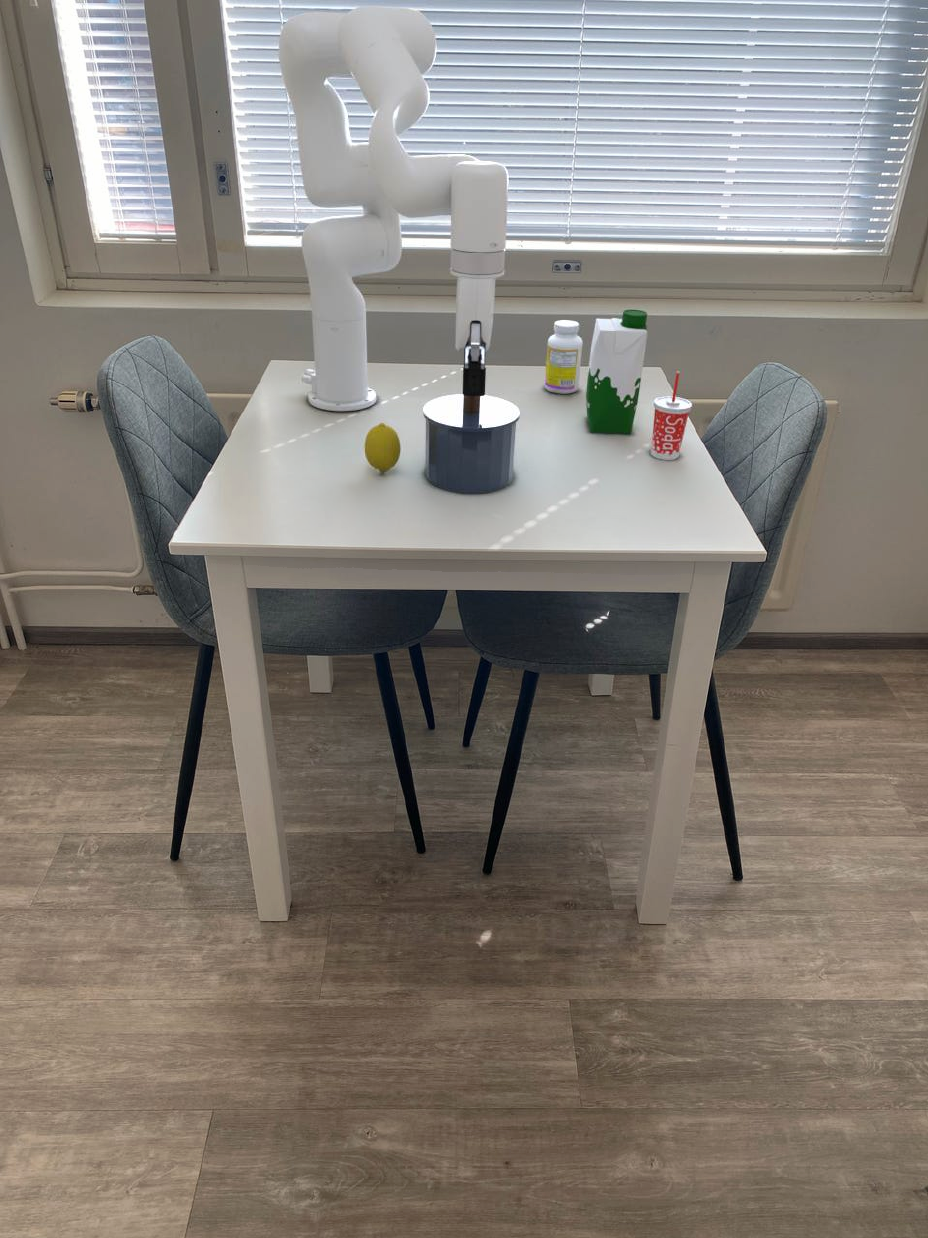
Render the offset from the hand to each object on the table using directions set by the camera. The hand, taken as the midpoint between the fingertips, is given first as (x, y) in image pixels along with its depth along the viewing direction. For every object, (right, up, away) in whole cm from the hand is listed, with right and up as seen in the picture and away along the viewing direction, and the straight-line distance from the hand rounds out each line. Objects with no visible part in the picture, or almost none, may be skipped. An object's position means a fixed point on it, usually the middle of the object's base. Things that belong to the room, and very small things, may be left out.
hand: (473, 384), depth 132 cm
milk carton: (+24, 0, +28) cm, 37 cm away
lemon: (-14, -12, +8) cm, 20 cm away
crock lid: (0, -4, +3) cm, 5 cm away
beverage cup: (+32, -7, +18) cm, 38 cm away
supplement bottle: (+18, +11, +44) cm, 49 cm away
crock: (-1, -12, +8) cm, 15 cm away
